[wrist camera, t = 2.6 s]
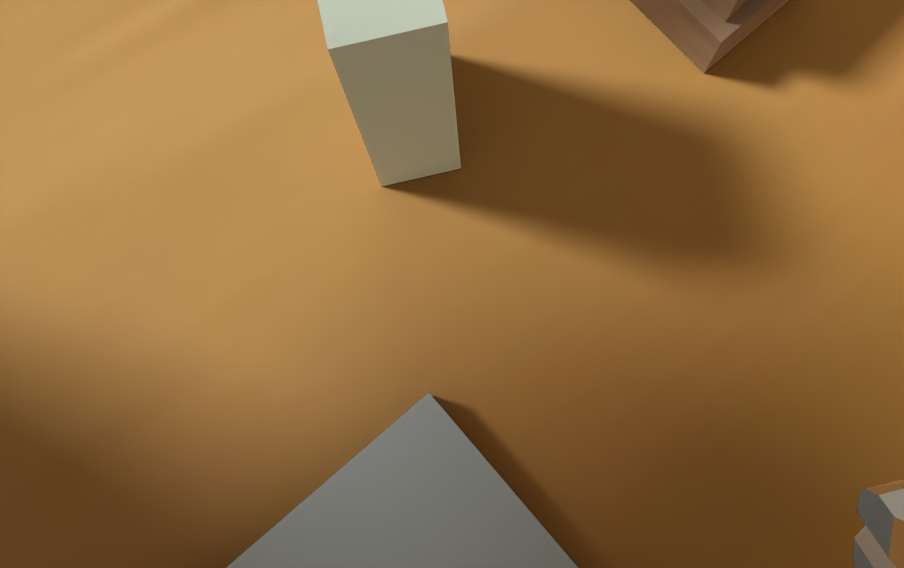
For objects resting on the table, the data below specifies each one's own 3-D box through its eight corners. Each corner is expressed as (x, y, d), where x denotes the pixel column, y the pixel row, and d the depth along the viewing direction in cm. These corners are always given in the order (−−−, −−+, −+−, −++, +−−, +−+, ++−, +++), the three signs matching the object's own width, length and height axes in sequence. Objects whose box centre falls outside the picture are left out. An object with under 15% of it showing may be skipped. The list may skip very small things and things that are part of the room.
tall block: (381, 186, 26) (328, 49, 18) (355, 68, 27) (292, -120, 18) (461, 168, 26) (447, 22, 18) (433, 50, 27) (406, -146, 18)
